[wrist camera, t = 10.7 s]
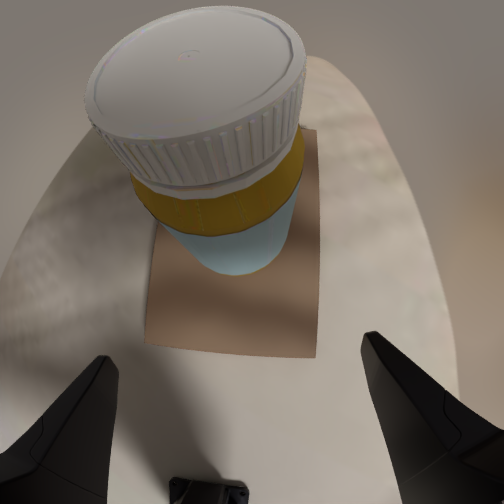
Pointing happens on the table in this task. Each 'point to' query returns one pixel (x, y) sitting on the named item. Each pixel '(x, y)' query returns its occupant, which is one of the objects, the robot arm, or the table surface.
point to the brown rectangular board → (243, 289)
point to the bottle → (209, 128)
